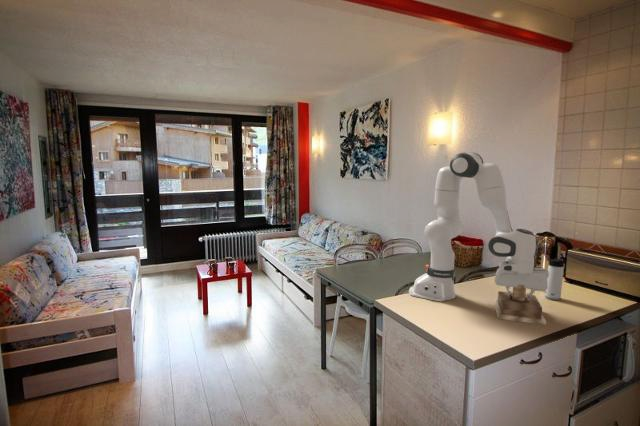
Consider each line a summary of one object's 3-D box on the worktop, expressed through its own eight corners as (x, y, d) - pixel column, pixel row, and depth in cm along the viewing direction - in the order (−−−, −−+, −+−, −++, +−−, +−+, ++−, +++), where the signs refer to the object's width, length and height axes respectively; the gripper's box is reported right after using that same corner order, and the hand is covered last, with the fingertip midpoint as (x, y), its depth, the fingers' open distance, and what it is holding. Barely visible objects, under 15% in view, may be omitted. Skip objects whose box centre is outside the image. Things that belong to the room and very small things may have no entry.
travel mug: (554, 301, 176) (558, 261, 173) (542, 296, 182) (546, 257, 179) (564, 300, 177) (568, 260, 174) (552, 295, 184) (556, 256, 181)
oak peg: (512, 311, 161) (514, 284, 159) (510, 306, 166) (512, 281, 164) (525, 312, 159) (527, 285, 158) (523, 308, 164) (525, 282, 163)
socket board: (497, 318, 157) (498, 304, 156) (493, 302, 174) (494, 289, 173) (545, 324, 151) (547, 310, 150) (536, 308, 168) (538, 294, 167)
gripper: (547, 266, 159) (544, 297, 161) (495, 262, 166) (493, 291, 168) (551, 271, 153) (548, 302, 155) (497, 266, 160) (494, 296, 162)
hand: (519, 296), depth 162 cm, fingers open, 6 cm apart
